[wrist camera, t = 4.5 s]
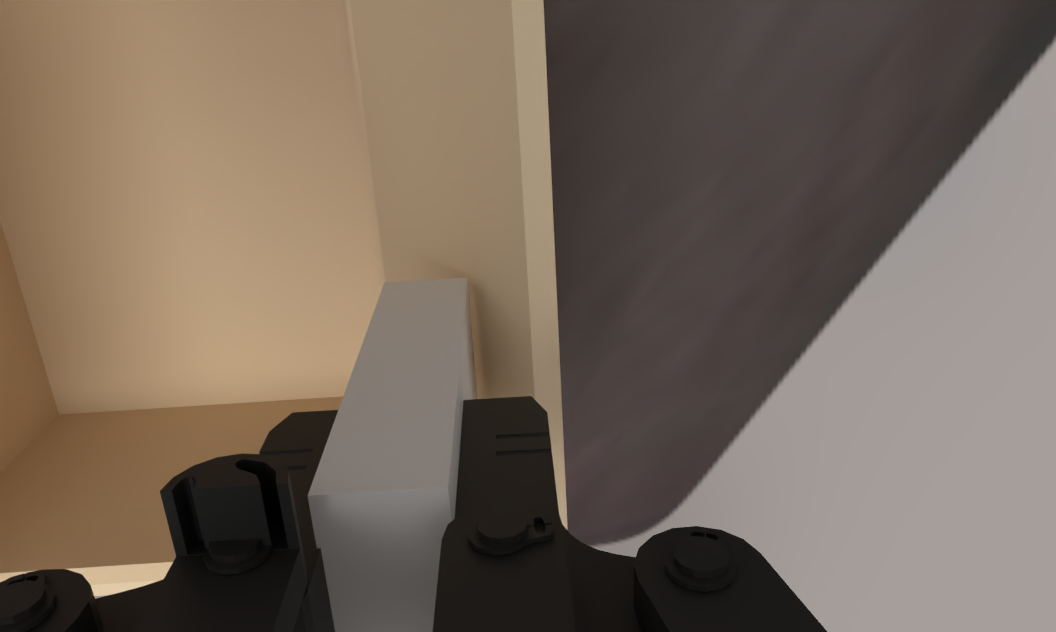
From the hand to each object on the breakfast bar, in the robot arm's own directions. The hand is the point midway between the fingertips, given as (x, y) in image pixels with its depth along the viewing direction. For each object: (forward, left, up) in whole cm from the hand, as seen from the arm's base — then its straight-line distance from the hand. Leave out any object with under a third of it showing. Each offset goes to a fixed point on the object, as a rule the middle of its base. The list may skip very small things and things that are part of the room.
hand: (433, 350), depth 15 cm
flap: (0, -1, -5) cm, 5 cm away
